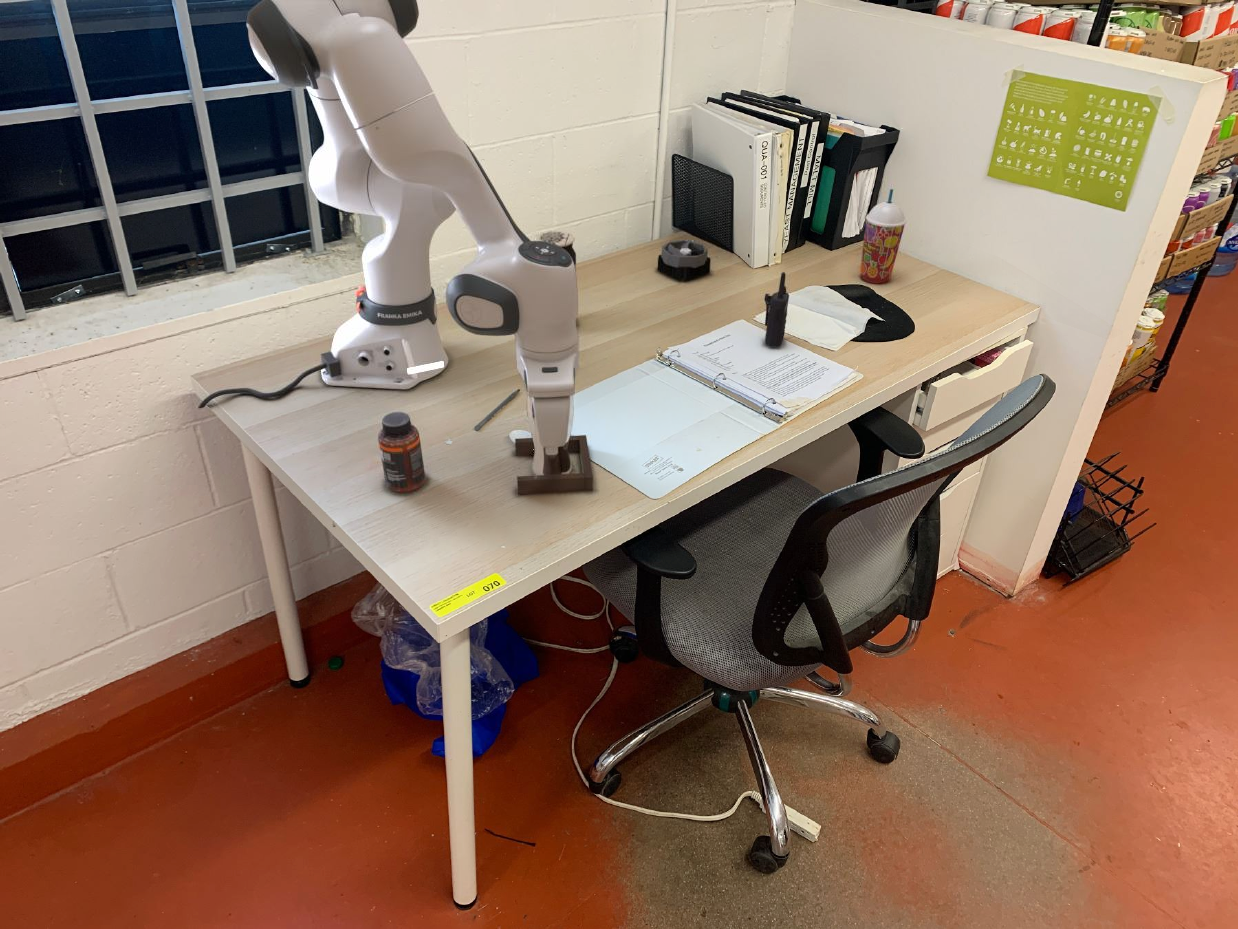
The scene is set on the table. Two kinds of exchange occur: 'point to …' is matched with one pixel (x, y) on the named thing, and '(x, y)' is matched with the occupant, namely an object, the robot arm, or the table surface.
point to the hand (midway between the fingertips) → (550, 438)
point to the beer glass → (541, 460)
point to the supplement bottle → (401, 453)
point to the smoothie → (881, 240)
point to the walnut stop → (557, 480)
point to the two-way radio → (776, 314)
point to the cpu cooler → (684, 260)
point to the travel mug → (559, 242)
